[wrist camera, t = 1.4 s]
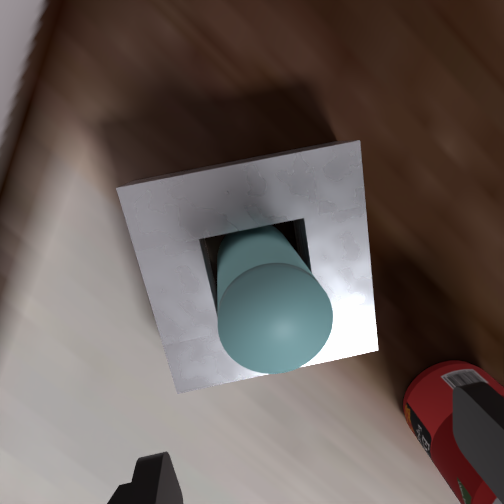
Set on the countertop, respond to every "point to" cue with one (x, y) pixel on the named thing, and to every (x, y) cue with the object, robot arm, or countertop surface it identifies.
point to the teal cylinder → (269, 303)
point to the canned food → (447, 425)
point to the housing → (242, 218)
